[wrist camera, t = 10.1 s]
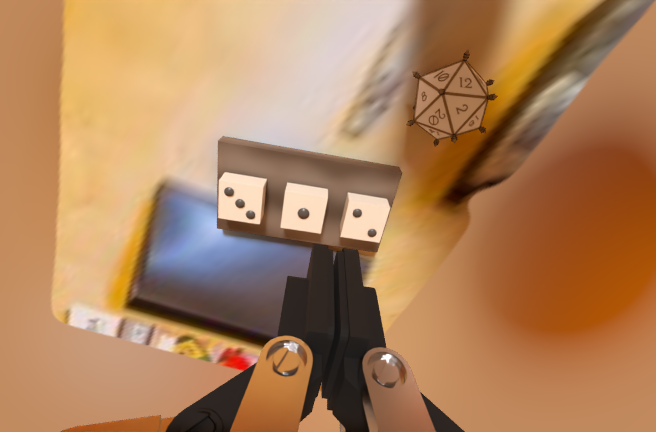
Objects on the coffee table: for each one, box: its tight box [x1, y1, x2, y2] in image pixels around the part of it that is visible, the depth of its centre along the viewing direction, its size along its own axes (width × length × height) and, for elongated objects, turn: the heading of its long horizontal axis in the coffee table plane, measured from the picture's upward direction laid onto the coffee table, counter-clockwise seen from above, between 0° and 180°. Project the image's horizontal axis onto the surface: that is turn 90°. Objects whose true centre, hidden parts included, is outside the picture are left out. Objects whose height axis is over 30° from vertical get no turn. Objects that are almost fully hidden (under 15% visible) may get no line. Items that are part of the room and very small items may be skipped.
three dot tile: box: [218, 172, 267, 224], centre depth 39 cm, size 5×5×3 cm
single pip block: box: [280, 182, 328, 234], centre depth 39 cm, size 5×5×3 cm
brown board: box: [217, 136, 402, 252], centre depth 42 cm, size 12×22×2 cm, turn 80°
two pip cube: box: [340, 192, 390, 243], centre depth 40 cm, size 5×5×3 cm
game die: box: [406, 50, 498, 146], centre depth 33 cm, size 9×8×10 cm
